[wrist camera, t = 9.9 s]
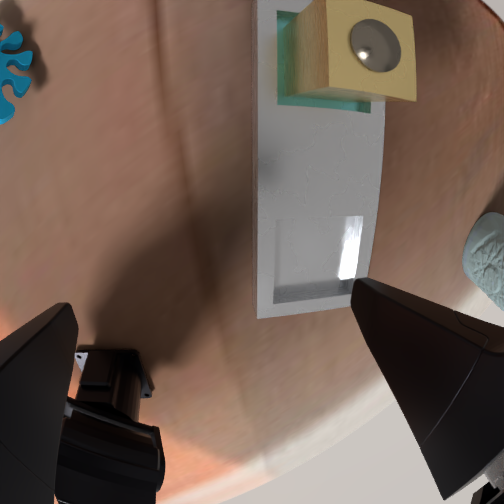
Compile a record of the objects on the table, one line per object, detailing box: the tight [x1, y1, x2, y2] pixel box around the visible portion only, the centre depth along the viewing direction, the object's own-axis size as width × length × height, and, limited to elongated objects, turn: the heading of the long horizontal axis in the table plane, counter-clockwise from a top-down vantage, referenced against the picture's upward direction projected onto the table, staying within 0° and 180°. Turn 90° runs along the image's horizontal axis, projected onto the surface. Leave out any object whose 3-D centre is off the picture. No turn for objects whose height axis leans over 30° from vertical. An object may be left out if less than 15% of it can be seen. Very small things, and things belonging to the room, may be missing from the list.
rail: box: [252, 0, 385, 319], centre depth 20 cm, size 23×9×2 cm, turn 0°
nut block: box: [283, 0, 416, 103], centre depth 14 cm, size 5×5×7 cm
